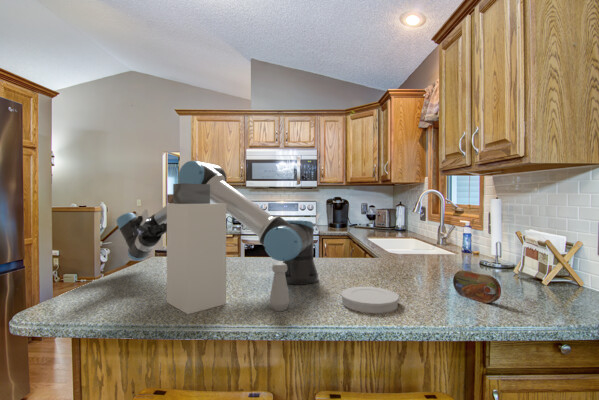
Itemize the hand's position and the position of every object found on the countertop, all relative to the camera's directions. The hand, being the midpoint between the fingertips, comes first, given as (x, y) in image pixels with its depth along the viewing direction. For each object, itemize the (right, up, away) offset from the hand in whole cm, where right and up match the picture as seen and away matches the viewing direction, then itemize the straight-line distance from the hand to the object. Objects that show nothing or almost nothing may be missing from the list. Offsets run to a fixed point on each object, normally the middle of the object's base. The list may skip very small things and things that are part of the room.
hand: (167, 212), depth 109 cm
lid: (+67, -27, -13) cm, 74 cm away
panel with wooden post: (+9, +3, -8) cm, 13 cm away
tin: (+102, -27, -10) cm, 106 cm away
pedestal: (+15, -27, -15) cm, 34 cm away
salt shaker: (+40, -27, -20) cm, 53 cm away
